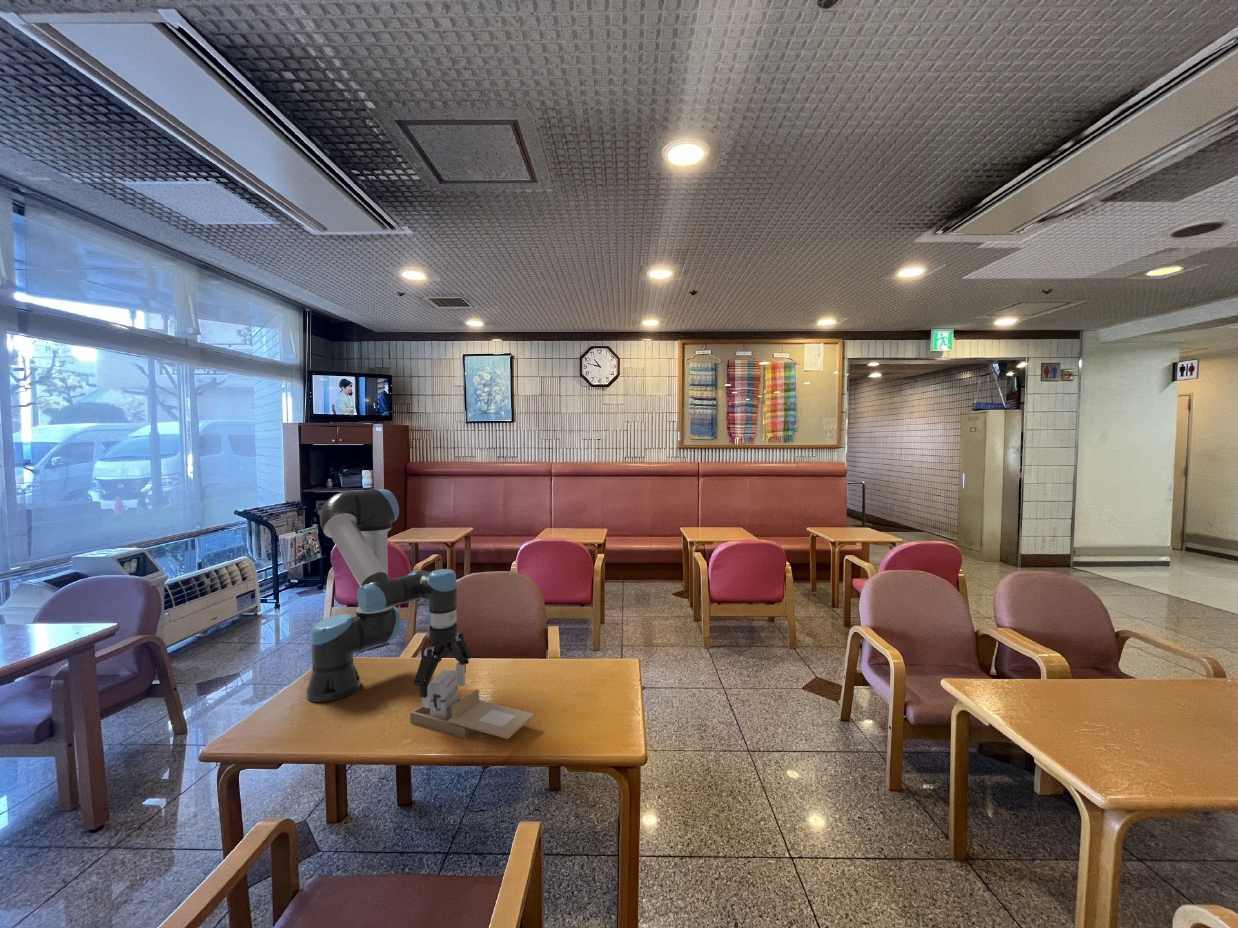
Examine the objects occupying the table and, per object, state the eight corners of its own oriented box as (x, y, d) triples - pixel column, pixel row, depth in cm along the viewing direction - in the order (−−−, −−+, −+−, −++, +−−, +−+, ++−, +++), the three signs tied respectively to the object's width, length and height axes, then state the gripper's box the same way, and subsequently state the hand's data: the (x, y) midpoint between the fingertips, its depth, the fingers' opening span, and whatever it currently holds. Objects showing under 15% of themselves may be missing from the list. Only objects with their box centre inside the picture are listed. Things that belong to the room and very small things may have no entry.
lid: (448, 722, 136) (447, 707, 136) (477, 701, 147) (477, 687, 147) (507, 738, 128) (507, 723, 127) (534, 715, 139) (533, 700, 138)
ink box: (443, 707, 148) (442, 669, 148) (458, 708, 148) (457, 669, 148) (429, 723, 140) (428, 682, 139) (446, 724, 139) (445, 683, 139)
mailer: (410, 722, 142) (410, 712, 142) (441, 702, 153) (441, 693, 153) (464, 738, 134) (464, 727, 133) (493, 716, 144) (493, 706, 144)
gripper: (419, 642, 130) (420, 720, 131) (482, 612, 153) (482, 679, 154) (398, 637, 133) (400, 713, 134) (463, 608, 156) (464, 674, 157)
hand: (444, 695), depth 144 cm, fingers open, 13 cm apart
